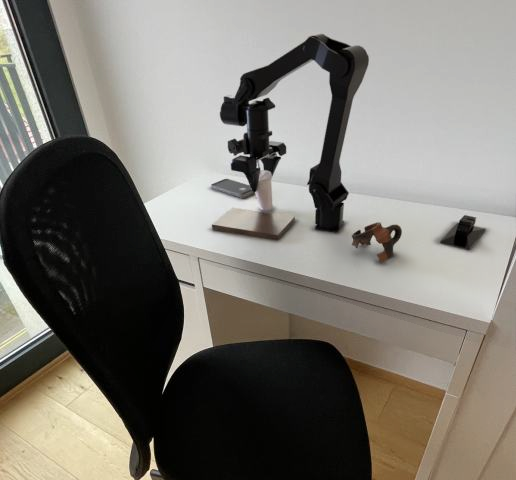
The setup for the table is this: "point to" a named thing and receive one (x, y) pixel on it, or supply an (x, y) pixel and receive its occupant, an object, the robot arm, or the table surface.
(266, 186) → the smoothie
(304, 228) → the table surface
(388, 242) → the brown irregular piece
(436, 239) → the table surface
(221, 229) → the board
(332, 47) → the robot arm
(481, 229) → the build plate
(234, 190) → the phone
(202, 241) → the table surface
